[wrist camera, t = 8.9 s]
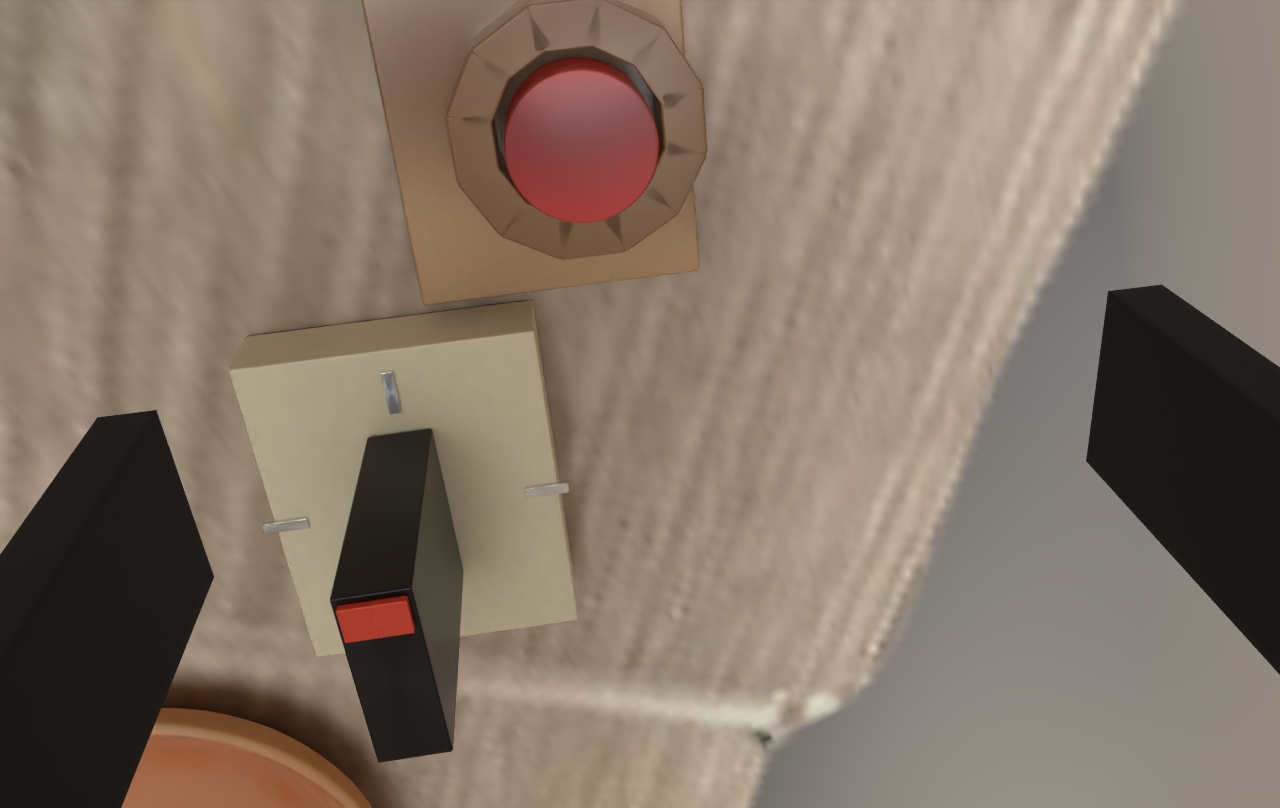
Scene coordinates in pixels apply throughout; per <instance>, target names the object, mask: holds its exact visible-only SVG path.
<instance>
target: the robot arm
mask: <svg viewBox="0 0 1280 808" xmlns="http://www.w3.org/2000/svg"><path fill="white" fill-rule="evenodd" d="M1086 461H1087V463H1089V465H1090V466H1091V467H1092V468H1093V469H1094V470H1095V471H1096V472H1097V473H1098V475H1099V476H1100V477H1101V478H1102V479H1103V480H1104V481H1105V482H1106V483H1107V485H1108V486H1109V487H1110V488H1111V489H1112V490H1113V491H1114V492H1115V493H1116V495H1117V496H1118V497H1119V498H1120V499H1121V500H1122V501H1123V502H1124V503H1125V504H1126V505H1127V507H1128V508H1129V509H1130V510H1131V511H1132V512H1133V513H1134V514H1135V515H1136V517H1137V518H1138V519H1139V520H1140V521H1141V522H1142V523H1143V524H1144V525H1145V526H1146V528H1147V529H1148V530H1149V531H1150V532H1151V533H1152V534H1153V535H1154V536H1155V538H1156V539H1157V540H1158V541H1159V542H1160V543H1161V544H1162V545H1163V546H1164V547H1165V549H1166V550H1167V551H1168V552H1169V553H1170V554H1171V555H1172V556H1173V557H1174V558H1175V560H1176V561H1177V562H1178V563H1179V564H1180V565H1181V566H1182V567H1183V568H1184V569H1185V571H1186V572H1187V573H1188V574H1189V575H1190V576H1191V577H1192V578H1193V579H1194V581H1196V583H1197V584H1198V585H1199V586H1200V587H1201V588H1202V589H1203V590H1204V592H1205V593H1206V594H1207V595H1208V596H1209V597H1210V598H1211V599H1212V600H1213V601H1214V603H1215V604H1216V605H1217V606H1218V607H1219V608H1220V609H1221V610H1222V611H1223V612H1224V614H1225V615H1226V616H1227V617H1228V618H1229V619H1230V620H1231V621H1232V622H1233V623H1234V625H1235V626H1236V627H1237V628H1238V629H1239V630H1240V631H1241V632H1242V633H1243V634H1244V636H1245V637H1246V638H1247V639H1248V640H1249V641H1250V642H1251V643H1252V644H1253V646H1254V647H1255V648H1256V649H1257V650H1258V651H1259V652H1260V653H1261V654H1262V655H1263V657H1264V658H1265V659H1266V660H1267V661H1268V662H1269V663H1270V664H1271V665H1272V667H1273V668H1274V669H1275V670H1276V671H1277V672H1278V673H1279V674H1280V367H1278V366H1277V365H1276V364H1274V363H1273V362H1271V361H1270V360H1268V359H1267V358H1265V357H1264V356H1263V355H1261V354H1260V353H1258V352H1257V351H1256V350H1254V349H1252V348H1251V347H1250V346H1249V345H1247V344H1245V343H1244V342H1243V341H1241V340H1240V339H1239V338H1237V337H1236V336H1234V335H1233V334H1231V333H1230V332H1229V331H1227V330H1226V329H1224V328H1223V327H1221V326H1220V325H1219V324H1217V323H1216V322H1214V321H1213V320H1211V319H1210V318H1209V317H1207V316H1206V315H1204V314H1203V313H1201V312H1200V311H1199V310H1197V309H1196V308H1194V307H1193V306H1192V305H1190V304H1189V303H1187V302H1186V301H1184V300H1183V299H1182V298H1180V297H1179V296H1177V295H1176V294H1174V293H1173V292H1171V291H1170V290H1169V289H1167V288H1165V287H1164V286H1163V285H1155V286H1147V287H1140V288H1131V289H1123V290H1115V291H1108V296H1107V304H1106V312H1105V319H1104V327H1103V335H1102V343H1101V350H1100V358H1099V366H1098V374H1097V382H1096V389H1095V397H1094V405H1093V413H1092V421H1091V428H1090V437H1089V444H1088V452H1087V459H1086ZM213 578H214V576H213V573H212V570H211V567H210V564H209V561H208V558H207V555H206V552H205V550H204V547H203V544H202V541H201V538H200V535H199V532H198V529H197V526H196V524H195V521H194V518H193V515H192V512H191V509H190V506H189V503H188V500H187V497H186V495H185V492H184V489H183V486H182V483H181V480H180V477H179V474H178V471H177V469H176V466H175V463H174V460H173V457H172V454H171V451H170V448H169V445H168V443H167V440H166V437H165V434H164V431H163V428H162V425H161V422H160V419H159V417H158V414H157V411H156V410H154V411H146V412H138V413H130V414H122V415H114V416H106V417H98V418H97V419H96V420H95V422H94V423H93V425H92V426H91V427H90V429H89V430H88V432H87V433H86V434H85V436H84V437H83V439H82V440H81V441H80V443H79V444H78V446H77V447H76V449H75V450H74V451H73V453H72V454H71V456H70V457H69V458H68V460H67V461H66V463H65V464H64V465H63V467H62V468H61V470H60V471H59V473H58V474H57V475H56V477H55V478H54V480H53V481H52V482H51V484H50V485H49V487H48V488H47V489H46V491H45V492H44V494H43V495H42V497H41V498H40V499H39V501H38V502H37V504H36V505H35V506H34V508H33V509H32V511H31V512H30V513H29V515H28V516H27V518H26V519H25V520H24V522H23V523H22V525H21V526H20V528H19V529H18V530H17V532H16V533H15V535H14V536H13V537H12V539H11V540H10V542H9V543H8V544H7V546H6V547H5V549H4V550H3V552H2V553H1V554H0V808H121V807H122V805H123V802H124V800H125V797H126V795H127V792H128V790H129V787H130V785H131V782H132V780H133V777H134V775H135V772H136V770H137V767H138V765H139V762H140V760H141V757H142V755H143V752H144V750H145V747H146V745H147V743H148V740H149V738H150V735H151V733H152V730H153V728H154V725H155V723H156V720H157V718H158V715H159V713H160V710H161V708H162V705H163V703H164V700H165V698H166V695H167V693H168V690H169V688H170V685H171V683H172V680H173V678H174V675H175V673H176V670H177V668H178V665H179V663H180V660H181V658H182V655H183V653H184V650H185V648H186V645H187V643H188V640H189V638H190V635H191V633H192V630H193V628H194V625H195V623H196V620H197V618H198V615H199V613H200V610H201V608H202V605H203V603H204V600H205V598H206V596H207V593H208V591H209V588H210V586H211V583H212V581H213Z"/></svg>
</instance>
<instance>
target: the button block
mask: <svg viewBox="0 0 1280 808" xmlns="http://www.w3.org/2000/svg"><path fill="white" fill-rule="evenodd" d="M362 5H363V10H364V15H365V20H366V25H367V30H368V35H369V40H370V45H371V50H372V55H373V60H374V64H375V69H376V74H377V79H378V84H379V89H380V94H381V99H382V104H383V109H384V114H385V119H386V124H387V129H388V133H389V138H390V143H391V148H392V153H393V158H394V163H395V168H396V173H397V178H398V183H399V188H400V193H401V197H402V202H403V207H404V212H405V217H406V222H407V227H408V232H409V237H410V242H411V247H412V252H413V257H414V262H415V266H416V271H417V276H418V281H419V286H420V291H421V296H422V301H423V304H424V305H430V304H438V303H446V302H454V301H462V300H470V299H478V298H485V297H493V296H501V295H509V294H517V293H525V292H533V291H541V290H548V289H556V288H564V287H572V286H580V285H588V284H596V283H603V282H611V281H619V280H627V279H635V278H643V277H651V276H659V275H666V274H674V273H682V272H690V271H697V270H699V268H700V266H699V251H698V237H697V223H696V208H695V194H694V181H695V179H696V177H697V175H698V173H699V171H700V169H701V167H702V165H703V162H704V160H705V158H706V153H707V137H706V122H705V106H704V90H703V87H702V86H703V85H702V83H701V81H700V80H699V78H698V77H697V75H696V74H695V72H694V71H693V69H692V68H691V66H690V65H689V64H688V62H687V61H686V59H685V52H684V37H683V23H682V9H681V0H362ZM569 57H586V58H592V59H597V60H600V61H603V62H606V63H608V64H610V65H612V66H614V67H616V68H618V69H619V70H620V71H622V72H623V73H624V74H626V75H627V76H628V77H629V78H630V79H631V80H632V81H633V82H634V84H635V85H636V86H637V87H638V89H639V90H640V92H641V94H642V95H643V97H644V99H645V101H646V103H647V105H648V106H649V108H650V110H651V113H652V115H653V117H654V119H655V123H656V126H657V130H658V137H659V154H658V161H657V165H656V169H655V172H654V174H653V177H652V179H651V181H650V183H649V185H648V186H647V188H646V189H645V191H644V192H643V193H642V195H641V196H640V197H639V198H638V199H637V200H636V201H635V202H634V203H633V204H632V205H631V206H629V207H628V208H627V209H625V210H624V211H622V212H621V213H619V214H617V215H615V216H613V217H610V218H608V219H605V220H601V221H597V222H591V223H571V222H566V221H561V220H558V219H555V218H552V217H550V216H548V215H546V214H544V213H542V212H541V211H539V210H538V209H536V208H535V207H534V206H532V205H531V204H530V203H529V202H528V201H527V200H526V199H525V198H524V197H523V196H522V195H521V193H520V192H519V191H518V189H517V188H516V186H515V184H514V183H513V181H512V179H511V177H510V174H509V171H508V168H507V164H506V160H505V152H504V128H505V119H506V113H507V110H508V107H509V104H510V101H511V99H512V97H513V95H514V93H515V92H516V90H517V89H518V87H519V86H520V85H521V84H522V82H523V81H524V80H525V79H526V78H527V77H528V76H529V75H531V74H532V73H533V72H534V71H536V70H537V69H539V68H540V67H542V66H544V65H546V64H548V63H550V62H553V61H556V60H559V59H564V58H569Z"/></svg>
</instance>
